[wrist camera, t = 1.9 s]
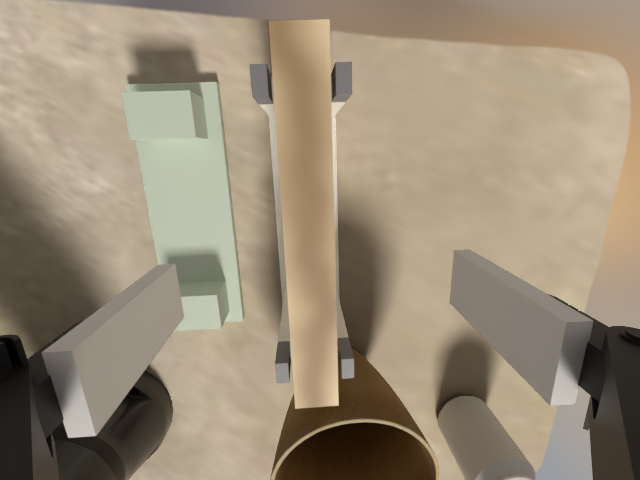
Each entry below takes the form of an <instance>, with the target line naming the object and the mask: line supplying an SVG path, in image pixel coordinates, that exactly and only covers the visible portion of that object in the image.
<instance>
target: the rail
mask: <svg viewBox="0 0 640 480" xmlns="http://www.w3.org/2000/svg"><path fill="white" fill-rule="evenodd" d="M268 21H269V35H270V50H271V64H272V79H273V93H274V108H275V122H276V137H277V152H278V166H279V181H280V195H281V210H282V224H283V239H284V253H285V268H286V283H287V297H288V312H289V326H290V341H291V355H292V370H293V384H294V399H295V409H299V408H312V407H326V406H339V395H338V353H337V311H336V270H335V228H334V186H333V144H332V102H331V61H330V22H329V21H330V20H329V19H325V20H323V19H322V20H268Z"/></svg>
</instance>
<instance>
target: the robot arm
mask: <svg viewBox="0 0 640 480" xmlns="http://www.w3.org/2000/svg"><path fill="white" fill-rule="evenodd" d="M450 304H451V305H452V306H453V307H454V308H455V309H456V310H457V311H458V312H459V313H460V314H461V315H462V316H463V317H464V318H465V319H466V320H467V321H468V322H469V323H470V324H471V325H472V326H473V327H474V328H475V329H476V330H477V331H478V332H479V333H480V334H481V335H482V336H483V337H484V338H485V339H486V340H487V342H488V343H489V344H490V345H491V346H492V347H493V348H494V349H495V350H496V351H497V352H498V353H499V354H500V355H501V356H502V357H503V358H504V359H505V360H506V361H507V362H508V363H509V364H510V365H511V366H512V367H513V368H514V369H515V370H516V371H517V372H518V373H519V374H520V375H521V376H522V377H523V378H524V379H525V380H526V381H527V382H528V383H529V385H530V386H531V387H532V388H533V389H534V390H535V391H536V392H537V393H538V394H539V395H540V396H541V397H542V398H543V399H544V400H545V401H546V402H547V403H548V404H549V405H550V406H551V405H565V404H575V402H576V397H577V393H578V389H579V386H580V387H582V388H583V389H584V390H585V391H586V392H587V393H589V394H590V395H591V397H590V401H589V405H588V410H587V414H586V418H585V422H584V427H583V429H586V430H588V429H589V428H590V441H591V457H592V470H593V471H592V472H593V480H640V329H636V328H631V327H625V326H612V327H608V326H606V325H604V324H602V323H600V322H599V321H597V320H595V319H594V318H592V317H590V316H588V315H587V314H585V313H583V312H581V311H578V309H576V308H574V307H572V306H571V305H568V304H567V303H565V302H564V301H562V300H560V299H558V298H557V297H554V296H552V295H549V294H546V293H544V292H543V291H541V290H539V289H537V288H536V287H534V286H532V285H530V284H529V283H527V282H525V281H524V280H522V279H520V278H518V277H517V276H515V275H513V274H511V273H510V272H508V271H506V270H504V269H503V268H501V267H499V266H497V265H496V264H494V263H492V262H491V261H489V260H487V259H485V258H484V257H482V256H480V255H478V254H477V253H475V252H473V251H471V250H454V257H453V269H452V281H451V293H450ZM183 318H184V313H183V307H182V301H181V295H180V289H179V283H178V277H177V271H176V265H175V264H161V265H157V266H156V267H155V268H153V269H152V270H151V271H149V272H148V273H147V274H145V275H144V276H143V277H141V278H140V279H139V280H137V281H136V282H135V283H133V284H132V285H131V286H129V287H128V288H127V289H125V290H124V291H123V292H121V293H120V294H119V295H117V296H116V297H115V298H113V299H112V300H111V301H109V302H108V303H107V304H105V305H104V306H103V307H101V308H100V309H99V310H97V311H96V312H95V313H93V314H92V315H91V316H89V317H88V318H87V319H84V320H82V321H80V322H78V323H76V324H74V325H73V326H72V327H70V328H69V329H68V330H66V331H65V332H64V333H63V335H60V336H58V337H57V338H55V339H54V340H53V342H50V343H49V344H47V345H46V346H45V347H43V348H42V349H41V350H39V351H38V352H36V353H35V354H34V355H32V356H31V357H30V358H28V359H27V357H26V354H25V351H24V348H23V345H22V342H21V339H20V338H19V336H18V335H2V336H0V480H128V479H129V478H130V477H131V476H132V475H133V474H134V473H135V472H136V471H137V469H138V468H139V467H140V466H141V465H142V464H143V463H144V462H145V461H146V459H148V458H149V457H150V456H151V455H152V454H153V453H154V452H155V451H156V450H157V449H158V447H159V446H160V445H161V443H162V441H163V440H164V437H165V435H166V433H167V431H168V429H169V427H170V425H171V421H172V415H173V410H172V404H171V400H170V398H169V395H168V394H167V392H166V390H165V389H164V387H163V386H162V385H161V384H160V383H159V382H158V381H157V380H156V379H155V378H154V377H153V376H151V375H150V374H149V373H147V372H145V370H146V368H147V367H148V365H149V364H150V363H151V361H152V360H153V359H154V357H155V356H156V355H157V353H158V352H159V351H160V349H161V348H162V347H163V345H164V344H165V343H166V341H167V340H168V339H169V337H170V336H171V334H172V333H173V332H174V330H175V329H176V328H177V326H178V325H179V324H180V322H181V321H182V320H183Z"/></svg>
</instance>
